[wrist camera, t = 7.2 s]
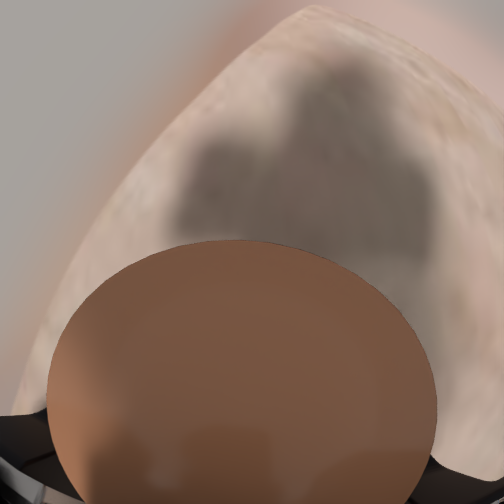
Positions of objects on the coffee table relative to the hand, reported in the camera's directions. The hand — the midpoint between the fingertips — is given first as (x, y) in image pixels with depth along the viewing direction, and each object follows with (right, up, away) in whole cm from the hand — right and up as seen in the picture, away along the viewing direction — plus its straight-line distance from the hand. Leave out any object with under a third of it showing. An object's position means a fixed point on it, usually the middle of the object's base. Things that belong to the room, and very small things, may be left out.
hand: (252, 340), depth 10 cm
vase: (0, -3, +6) cm, 7 cm away
